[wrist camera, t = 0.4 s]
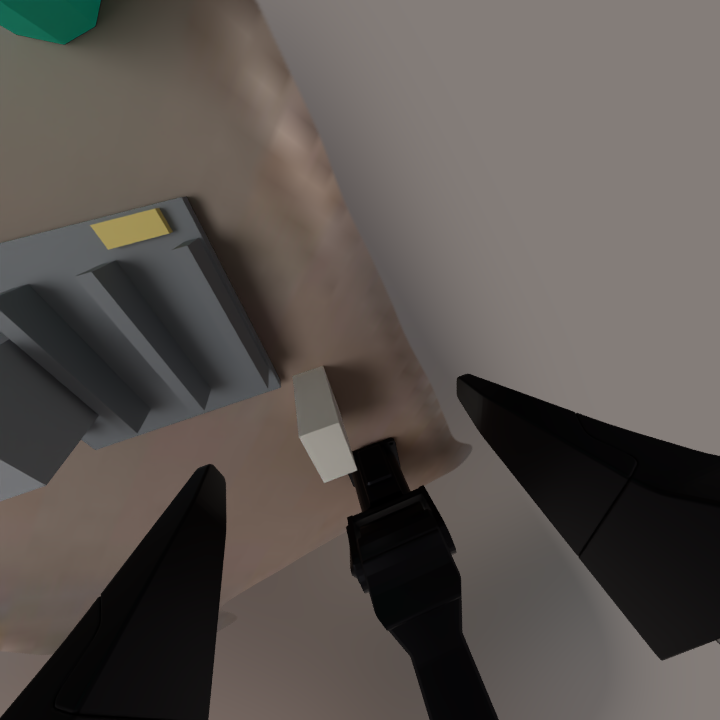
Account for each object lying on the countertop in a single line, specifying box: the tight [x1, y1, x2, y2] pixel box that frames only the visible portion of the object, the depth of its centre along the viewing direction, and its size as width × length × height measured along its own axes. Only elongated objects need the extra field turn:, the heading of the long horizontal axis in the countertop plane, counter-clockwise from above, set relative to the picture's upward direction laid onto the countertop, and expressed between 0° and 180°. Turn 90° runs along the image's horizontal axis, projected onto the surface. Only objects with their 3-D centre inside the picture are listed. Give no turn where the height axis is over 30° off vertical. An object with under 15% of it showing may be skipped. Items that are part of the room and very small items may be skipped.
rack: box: [0, 197, 281, 501], centre depth 15 cm, size 14×15×8 cm
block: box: [293, 366, 357, 483], centre depth 22 cm, size 6×3×7 cm, turn 12°
